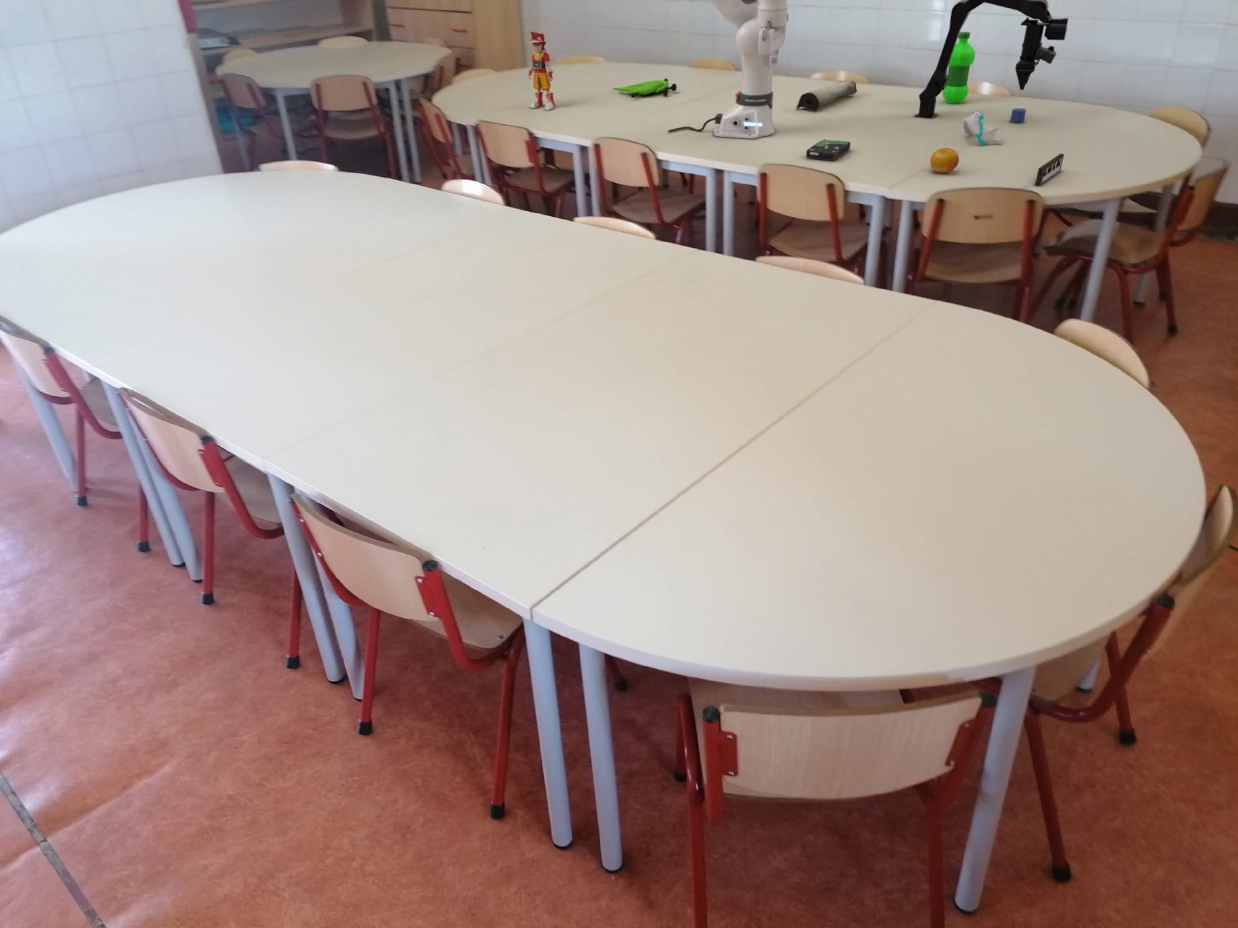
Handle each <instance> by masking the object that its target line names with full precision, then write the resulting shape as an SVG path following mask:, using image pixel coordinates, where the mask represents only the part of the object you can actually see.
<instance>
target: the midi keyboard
mask: <svg viewBox="0 0 1238 928" xmlns="http://www.w3.org/2000/svg"><path fill="white" fill-rule="evenodd" d="M1064 157H1065V153H1059V154H1058V155H1056V156H1055V157H1052V159H1051V160H1049V161H1047V162H1045V164H1042V165H1041V166H1039V167H1038V169H1037V175H1036V179H1035V186H1040V185H1042V183H1044V182H1045V181H1047V180H1048V179H1049V178H1051V177H1052V176H1054V175H1055V174H1056V173H1058V172H1060V171H1061V170H1062V165H1063V161H1064Z"/></svg>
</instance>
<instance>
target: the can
mask: <svg viewBox="0 0 1238 928" xmlns="http://www.w3.org/2000/svg"><path fill="white" fill-rule="evenodd" d="M1026 113H1027V109H1025V108H1019V107H1018V108H1012V110H1011V115H1010V121H1009V122H1010V123H1012V124H1023V123H1024V122H1025V118H1026Z"/></svg>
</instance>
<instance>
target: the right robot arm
mask: <svg viewBox="0 0 1238 928" xmlns="http://www.w3.org/2000/svg"><path fill="white" fill-rule="evenodd" d="M983 4H989V5H993V6H998V7H1000V8H1006V9H1010V10H1013V11H1017V12H1019V13H1021V14H1023V15H1024V16H1026V18H1024V20H1022V21H1021V22H1020V26H1021V27H1022V26H1025V32H1024V35H1023V36H1024V37H1023V41H1022V44H1021V47H1022V48H1021V53H1020V56H1019V60H1017V62H1016V64H1015V68H1014V70H1015V73H1016V77H1017V81H1018V87H1019V90H1020V91H1024V90H1025V88H1026V85H1028V82H1029V79H1030V77H1031V75H1032V73H1033V74H1034V72H1035V70H1036V68H1037V67H1036V66H1038V65H1039V64H1040V61H1043V62H1046V63H1047V64H1049V65H1051V64H1052V62H1053V61H1054V59H1055V58H1056V56H1057V51H1055V46H1053V45H1050V46H1048V47H1044V46H1043V42H1042V40H1043V36H1044V37H1045V38H1046V40H1047V41H1065V39H1066V37H1067V32H1068V23H1069V17H1063V18H1053V16H1052V14H1051V12H1050V10H1049V6H1050V5H1049V2H1048V0H959V1H958V2H957V3H955V5H953V6H952V9H951V12H950V17H949V28H948V31H947V35H946V38H945V41H944V44H943V46H942V50H941V53H940V55H939V59H938V62H937V64H936V67H935V70H934V71H933V73H932V75H931V76H930V79H929V81H928V82H927V84H926V86H925V88H924V89H923V90H922V91H921V92H920V94H918V98H919V106H918V113H915V114H914V117H918V118H926V119H932V118H935V117H936V116H938V112H935V111H936V105H937V97H938V96H939V95H940V94H941V93H943V90H944V89H945V88H946V87H947V81H948V79H949V78H950V75H948V69H949V62H950V60H951V57H952V54H953V51H954V48H955V45H956V44H957V43H958V40H959V38H958V36H959V33H960V32H961V30H962V29H963V26H964V25H965V23H966V21H967V19H968V17H969V15H970V14H971V12H972V11H973V10H975V9H976V8H979V7H980V6H981V5H983ZM1044 29H1045V30H1044Z"/></svg>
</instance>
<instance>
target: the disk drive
mask: <svg viewBox="0 0 1238 928" xmlns="http://www.w3.org/2000/svg"><path fill="white" fill-rule="evenodd" d="M850 149H851V141H846V140H837V139H836V140H832V139H826V138H825V139H822V140H819V141H818V142H816V143H815V144H814V145H812V146H810V147H809V148H807V149H806V152H805V153H806V156H805V157H806V158H808V159H815V160H825V161H836V160H838V158H840V157H842V156H843V155H844V154H846V153H847V152H848V151H849V150H850Z"/></svg>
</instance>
